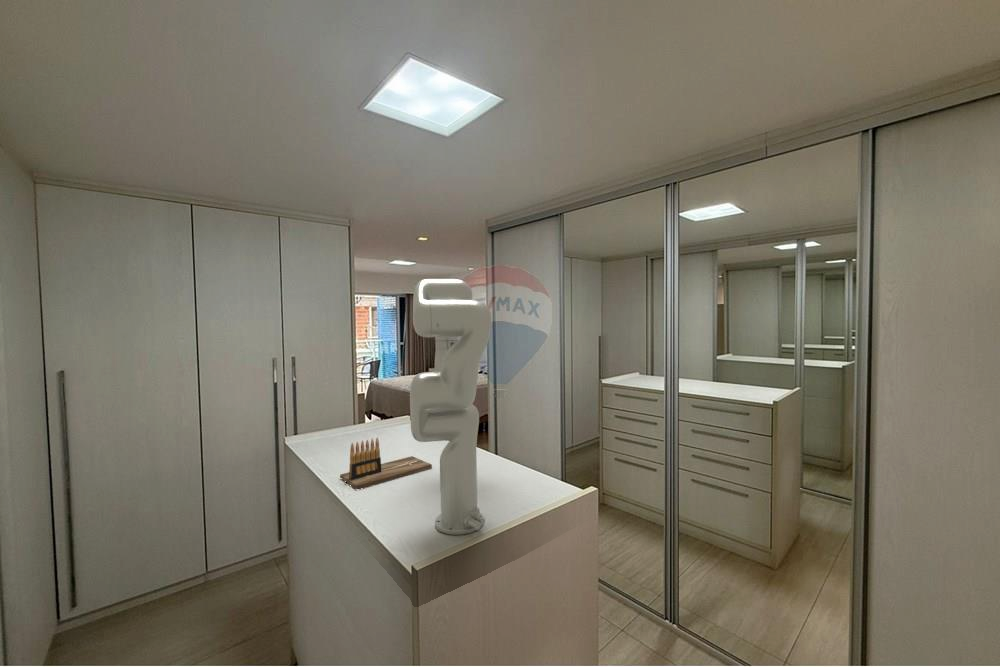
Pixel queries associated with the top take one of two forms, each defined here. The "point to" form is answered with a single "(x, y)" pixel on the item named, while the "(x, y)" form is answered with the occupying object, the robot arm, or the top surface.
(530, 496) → the top surface
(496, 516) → the top surface
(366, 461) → the ammunition clip
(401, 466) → the walnut board
